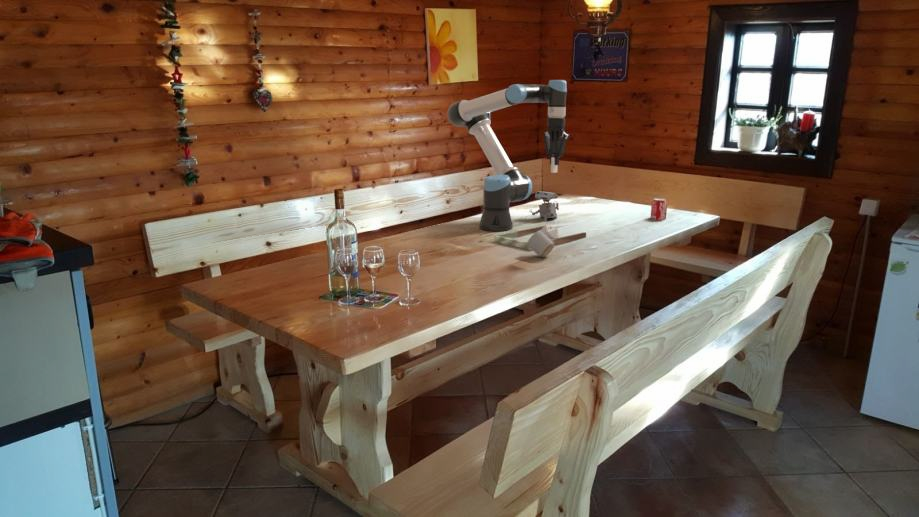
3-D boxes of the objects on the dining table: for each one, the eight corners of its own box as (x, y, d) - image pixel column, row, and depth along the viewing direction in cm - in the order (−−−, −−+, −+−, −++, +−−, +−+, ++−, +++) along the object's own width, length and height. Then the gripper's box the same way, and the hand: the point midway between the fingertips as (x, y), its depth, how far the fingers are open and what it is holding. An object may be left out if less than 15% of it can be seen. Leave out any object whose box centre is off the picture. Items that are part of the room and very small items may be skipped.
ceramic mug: (540, 262, 252) (546, 249, 247) (524, 248, 255) (529, 235, 249) (557, 248, 258) (563, 235, 252) (541, 235, 261) (546, 222, 255)
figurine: (541, 220, 327) (542, 189, 324) (560, 223, 319) (561, 191, 315) (529, 222, 321) (530, 191, 317) (548, 225, 313) (549, 193, 309)
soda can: (667, 223, 320) (669, 198, 317) (663, 226, 314) (665, 200, 311) (652, 222, 324) (654, 197, 321) (648, 224, 318) (650, 199, 315)
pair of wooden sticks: (493, 241, 279) (494, 235, 278) (546, 230, 302) (547, 225, 301) (533, 250, 264) (533, 244, 263) (585, 238, 287) (586, 232, 286)
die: (562, 234, 282) (561, 225, 273) (554, 253, 280) (553, 245, 271) (543, 227, 285) (542, 219, 275) (535, 246, 283) (533, 238, 273)
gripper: (539, 116, 290) (537, 171, 295) (563, 117, 281) (560, 174, 286) (550, 116, 295) (548, 170, 300) (574, 117, 286) (571, 173, 291)
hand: (554, 172), depth 293 cm, fingers closed
